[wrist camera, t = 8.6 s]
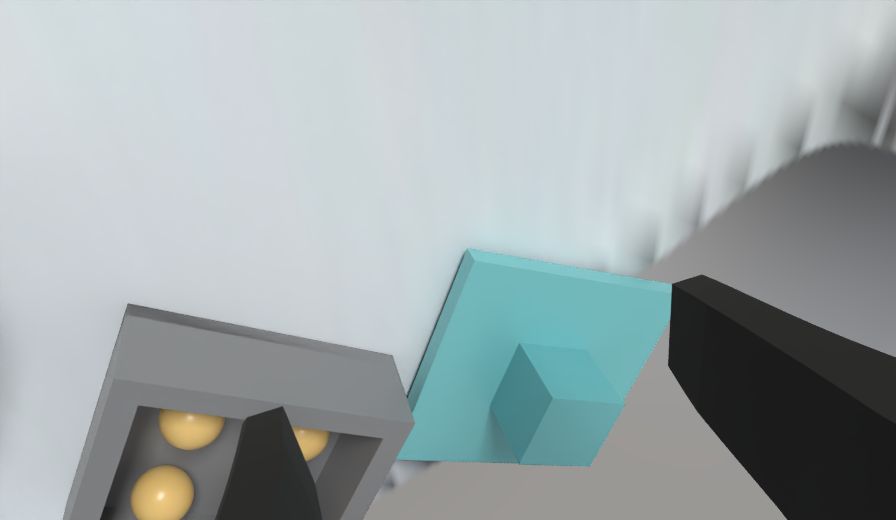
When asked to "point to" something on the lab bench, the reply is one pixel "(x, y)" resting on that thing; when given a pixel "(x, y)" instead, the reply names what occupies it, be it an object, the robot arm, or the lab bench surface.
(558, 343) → the lid
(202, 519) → the box
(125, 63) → the lab bench surface
